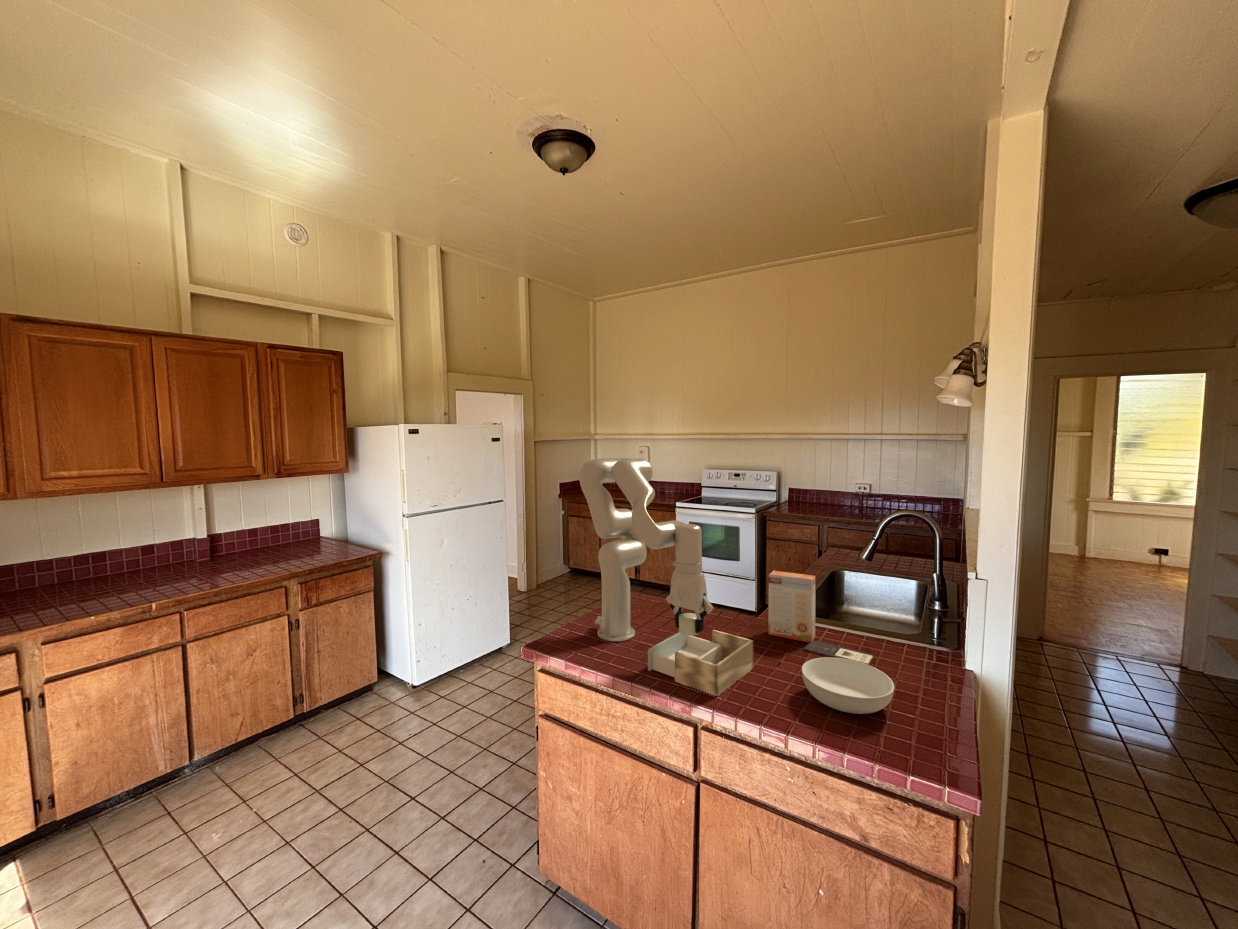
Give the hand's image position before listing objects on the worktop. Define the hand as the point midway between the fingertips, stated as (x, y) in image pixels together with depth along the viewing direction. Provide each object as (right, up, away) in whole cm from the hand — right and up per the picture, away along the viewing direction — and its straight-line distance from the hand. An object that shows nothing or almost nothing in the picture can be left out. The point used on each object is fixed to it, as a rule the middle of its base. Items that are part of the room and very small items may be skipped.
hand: (689, 628), depth 143 cm
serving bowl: (+36, -12, -19) cm, 43 cm away
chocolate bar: (+47, -11, +8) cm, 49 cm away
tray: (0, -11, +1) cm, 11 cm away
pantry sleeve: (+6, -11, -4) cm, 13 cm away
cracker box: (+37, -10, +22) cm, 44 cm away
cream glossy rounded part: (0, -1, 0) cm, 1 cm away
